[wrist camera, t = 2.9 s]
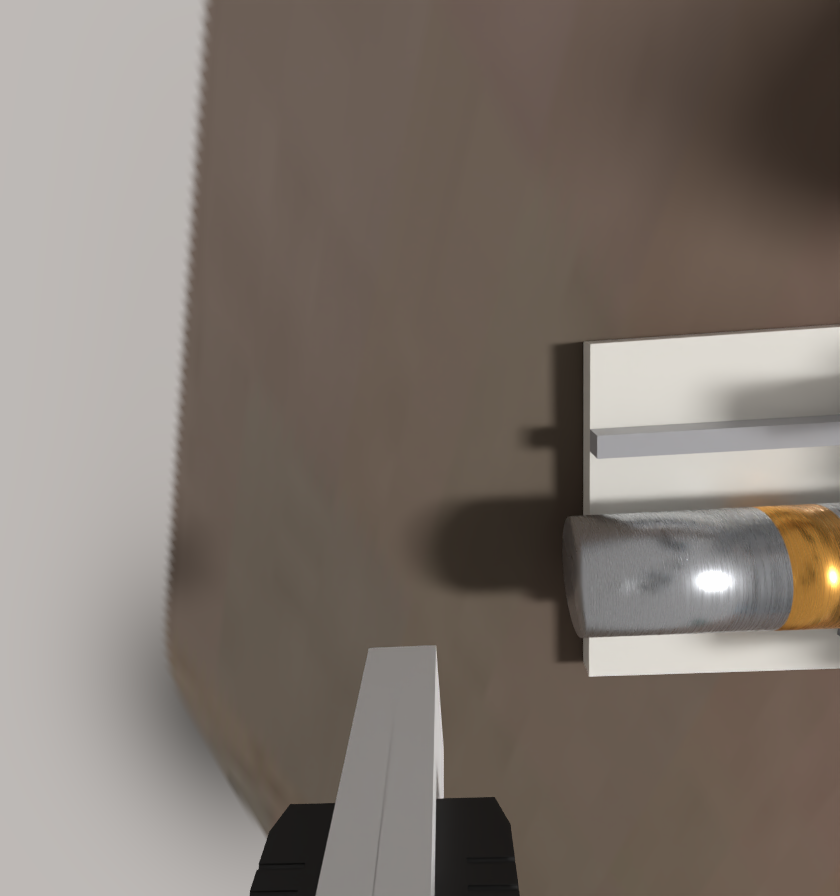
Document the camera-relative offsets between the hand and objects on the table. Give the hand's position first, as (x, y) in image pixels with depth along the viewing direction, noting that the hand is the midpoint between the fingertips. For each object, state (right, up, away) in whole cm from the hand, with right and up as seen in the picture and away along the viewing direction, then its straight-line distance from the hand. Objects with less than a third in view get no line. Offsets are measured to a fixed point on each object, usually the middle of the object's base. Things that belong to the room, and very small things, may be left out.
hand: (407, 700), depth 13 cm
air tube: (+12, +3, +7) cm, 15 cm away
